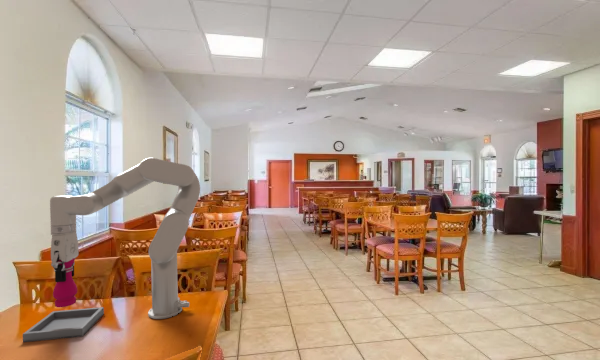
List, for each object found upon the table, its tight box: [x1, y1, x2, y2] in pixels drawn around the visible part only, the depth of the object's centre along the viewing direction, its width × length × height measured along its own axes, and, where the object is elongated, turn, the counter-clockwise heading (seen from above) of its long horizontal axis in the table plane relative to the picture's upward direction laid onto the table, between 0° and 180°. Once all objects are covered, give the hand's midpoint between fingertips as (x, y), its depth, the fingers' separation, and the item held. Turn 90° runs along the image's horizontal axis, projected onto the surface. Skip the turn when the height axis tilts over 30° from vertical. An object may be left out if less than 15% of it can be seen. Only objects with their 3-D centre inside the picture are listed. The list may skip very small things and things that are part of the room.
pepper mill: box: [52, 258, 78, 308], centre depth 118 cm, size 7×7×20 cm
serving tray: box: [22, 306, 105, 343], centre depth 119 cm, size 18×18×3 cm
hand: (65, 278), depth 118 cm, fingers closed on pepper mill, 5 cm apart
